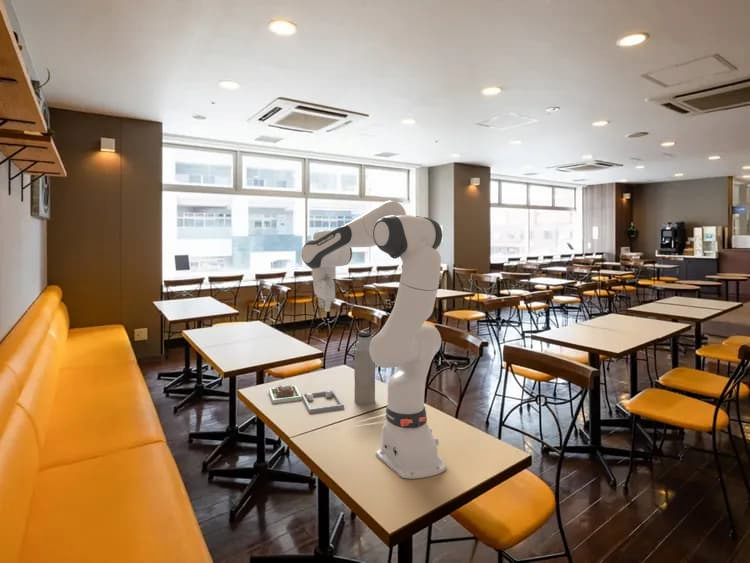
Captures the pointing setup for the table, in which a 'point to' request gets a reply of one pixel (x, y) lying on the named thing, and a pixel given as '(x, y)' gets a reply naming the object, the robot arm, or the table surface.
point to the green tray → (288, 399)
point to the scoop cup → (284, 393)
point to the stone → (284, 387)
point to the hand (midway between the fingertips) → (324, 309)
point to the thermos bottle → (364, 371)
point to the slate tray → (326, 408)
